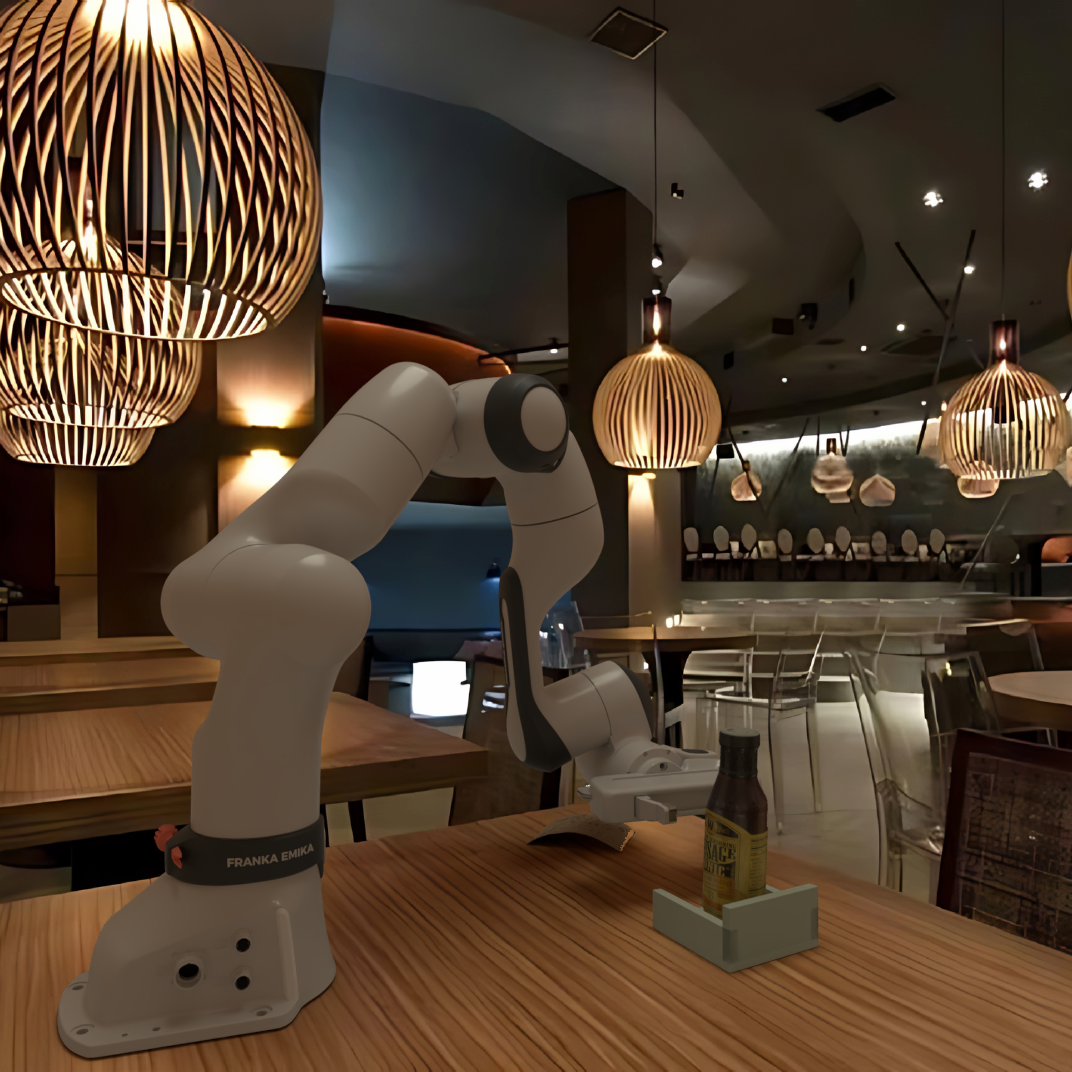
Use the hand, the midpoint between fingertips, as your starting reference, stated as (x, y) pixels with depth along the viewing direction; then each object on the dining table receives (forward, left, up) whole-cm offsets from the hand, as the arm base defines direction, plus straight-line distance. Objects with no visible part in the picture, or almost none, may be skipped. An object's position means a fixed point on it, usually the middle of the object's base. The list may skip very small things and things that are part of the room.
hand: (710, 812), depth 92 cm
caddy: (-1, -5, -11) cm, 12 cm away
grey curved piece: (+3, +29, -12) cm, 32 cm away
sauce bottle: (-1, -4, -10) cm, 11 cm away
